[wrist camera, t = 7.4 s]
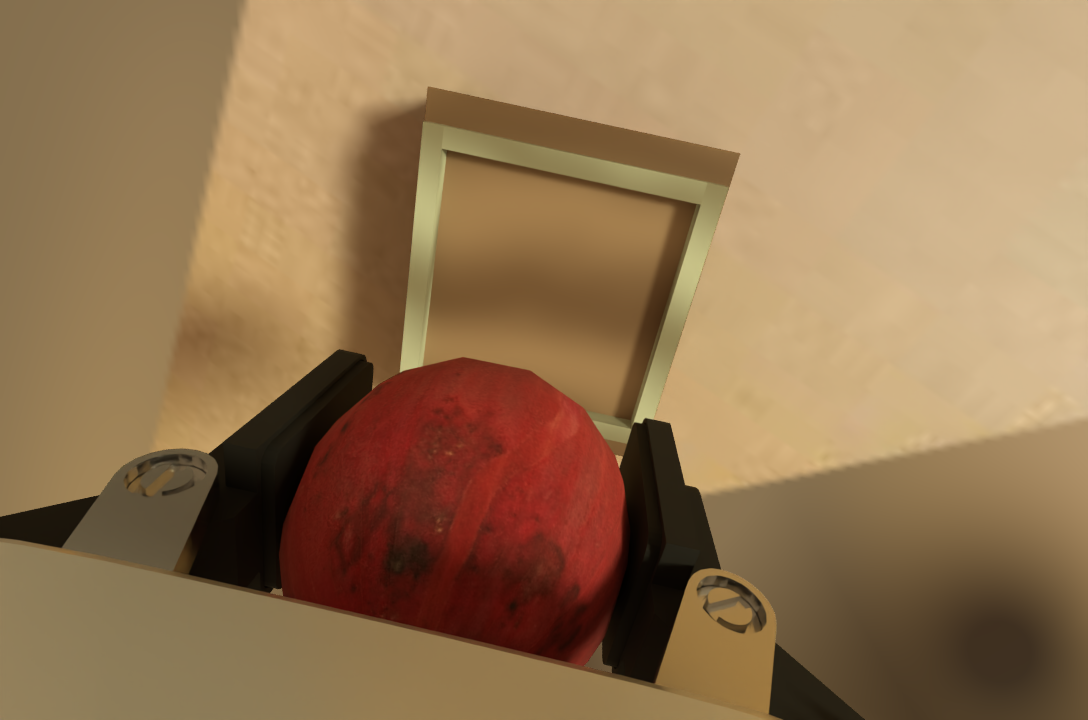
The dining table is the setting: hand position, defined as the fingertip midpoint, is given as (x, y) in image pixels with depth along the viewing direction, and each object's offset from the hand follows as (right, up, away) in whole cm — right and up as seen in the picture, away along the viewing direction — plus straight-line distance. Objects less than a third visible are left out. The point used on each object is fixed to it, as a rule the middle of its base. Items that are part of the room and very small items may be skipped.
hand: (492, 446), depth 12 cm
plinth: (+2, +6, +14) cm, 16 cm away
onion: (0, 0, +1) cm, 1 cm away
